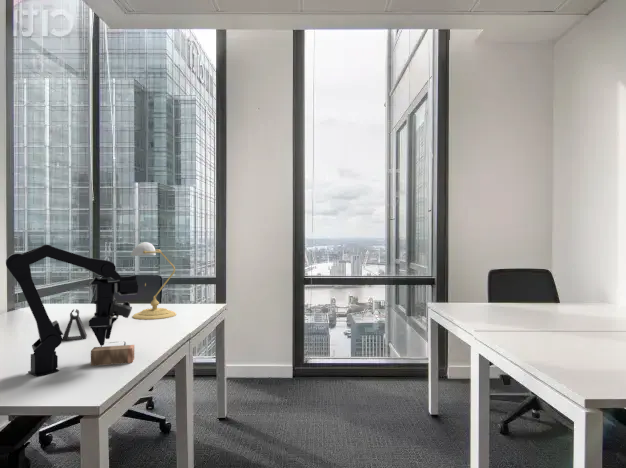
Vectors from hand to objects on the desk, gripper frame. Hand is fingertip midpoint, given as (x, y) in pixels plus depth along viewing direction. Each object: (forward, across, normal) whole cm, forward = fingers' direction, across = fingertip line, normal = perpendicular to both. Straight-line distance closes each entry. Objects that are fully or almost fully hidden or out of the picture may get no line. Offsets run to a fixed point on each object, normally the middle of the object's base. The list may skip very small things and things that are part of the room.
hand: (105, 342), depth 149 cm
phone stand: (+7, +41, +20) cm, 46 cm away
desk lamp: (+7, +87, -8) cm, 88 cm away
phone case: (+8, +17, +1) cm, 19 cm away
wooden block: (+5, 0, +4) cm, 6 cm away
